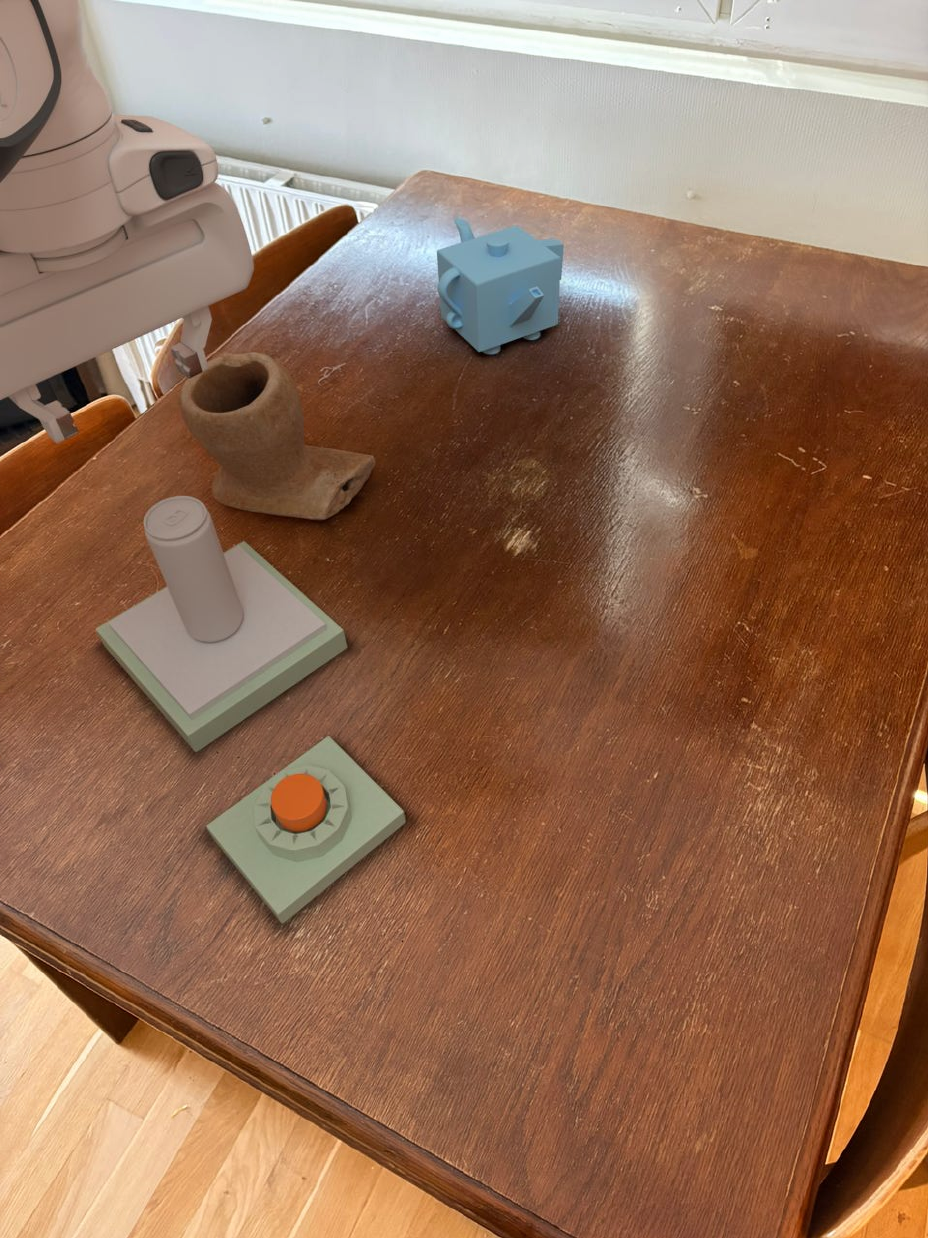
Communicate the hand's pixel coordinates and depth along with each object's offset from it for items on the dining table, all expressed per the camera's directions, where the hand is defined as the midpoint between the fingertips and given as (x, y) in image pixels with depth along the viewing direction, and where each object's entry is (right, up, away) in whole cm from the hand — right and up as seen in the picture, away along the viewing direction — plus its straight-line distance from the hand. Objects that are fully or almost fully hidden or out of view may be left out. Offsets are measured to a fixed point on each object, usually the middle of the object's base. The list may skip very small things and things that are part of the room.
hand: (131, 401), depth 58 cm
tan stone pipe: (+4, -2, +31) cm, 32 cm away
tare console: (+10, -29, +7) cm, 32 cm away
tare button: (+10, -27, +5) cm, 30 cm away
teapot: (+26, +21, +50) cm, 60 cm away
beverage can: (+1, -15, +17) cm, 22 cm away
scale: (+1, -16, +19) cm, 25 cm away
